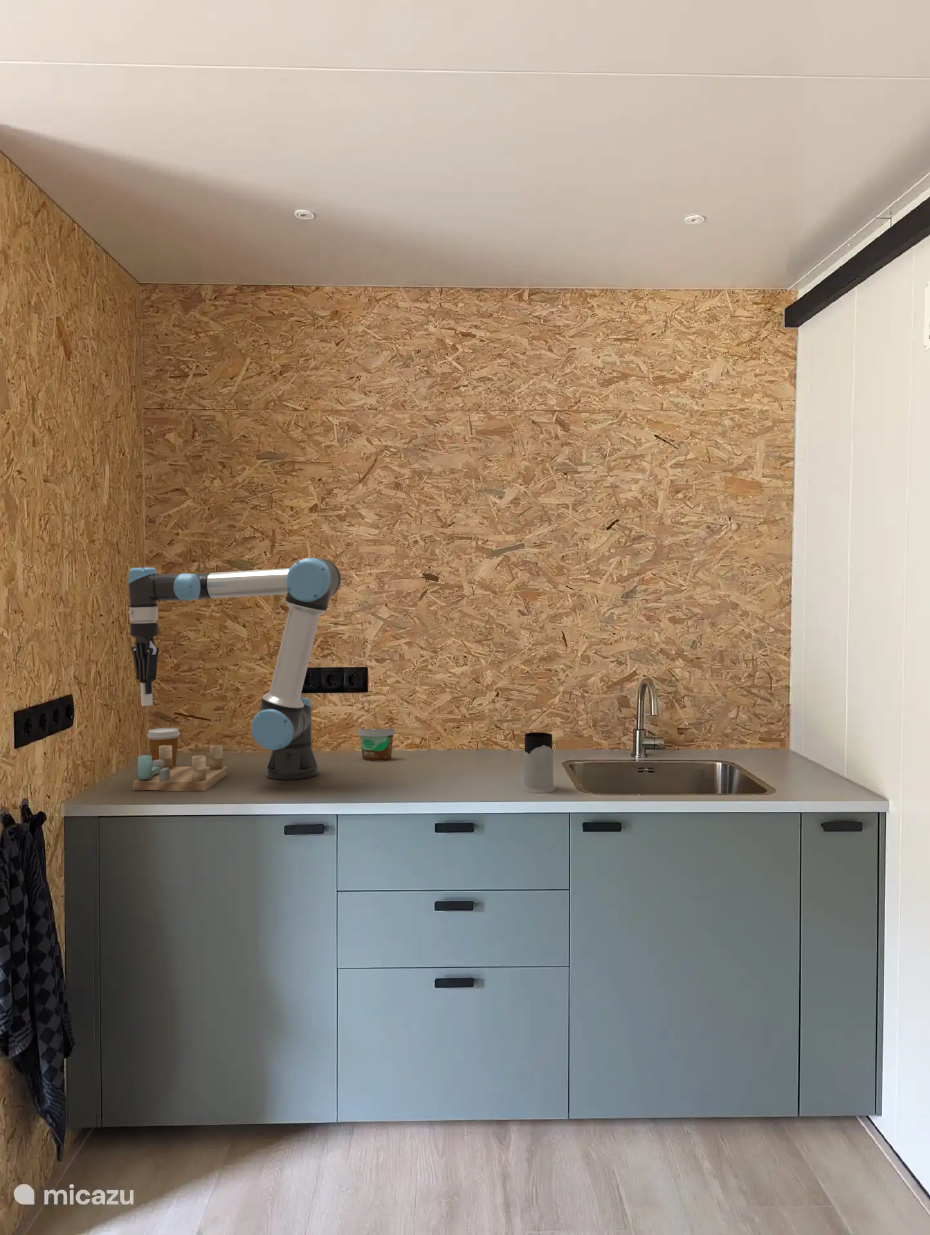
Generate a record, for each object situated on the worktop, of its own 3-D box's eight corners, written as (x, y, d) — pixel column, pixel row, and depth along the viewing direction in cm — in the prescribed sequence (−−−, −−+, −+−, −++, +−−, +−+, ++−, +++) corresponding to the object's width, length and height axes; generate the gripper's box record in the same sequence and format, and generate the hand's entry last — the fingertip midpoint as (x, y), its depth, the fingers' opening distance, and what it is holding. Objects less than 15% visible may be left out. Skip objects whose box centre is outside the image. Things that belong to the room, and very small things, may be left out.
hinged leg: (154, 770, 262) (153, 749, 262) (166, 770, 262) (165, 749, 262) (136, 779, 250) (135, 757, 250) (148, 779, 250) (148, 757, 250)
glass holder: (529, 794, 243) (528, 738, 242) (511, 782, 256) (511, 729, 256) (559, 791, 245) (559, 736, 244) (540, 780, 259) (540, 728, 258)
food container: (351, 760, 289) (351, 729, 288) (359, 756, 294) (359, 726, 294) (388, 762, 285) (387, 730, 285) (395, 758, 291) (395, 727, 290)
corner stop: (170, 778, 253) (169, 767, 253) (164, 781, 249) (164, 770, 249) (164, 778, 254) (164, 767, 253) (159, 781, 250) (159, 770, 249)
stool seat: (227, 775, 269) (227, 744, 268) (205, 791, 249) (204, 758, 248) (160, 774, 269) (160, 744, 269) (133, 790, 249) (132, 758, 249)
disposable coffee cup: (185, 766, 282) (184, 727, 281) (172, 772, 272) (172, 733, 272) (156, 765, 283) (155, 727, 282) (142, 772, 273) (141, 732, 273)
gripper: (121, 622, 259) (124, 704, 260) (141, 623, 250) (144, 708, 251) (146, 621, 264) (149, 701, 266) (167, 622, 255) (170, 705, 256)
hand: (147, 705), depth 258 cm, fingers closed
